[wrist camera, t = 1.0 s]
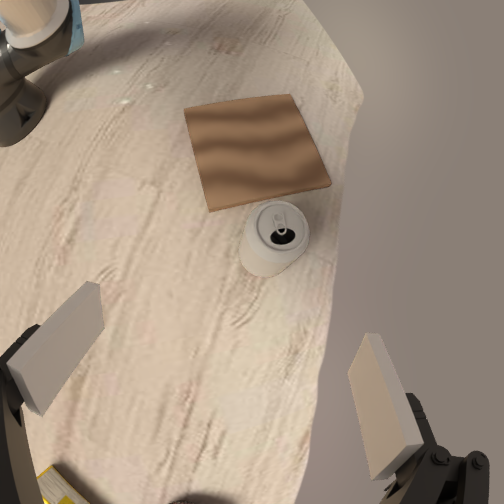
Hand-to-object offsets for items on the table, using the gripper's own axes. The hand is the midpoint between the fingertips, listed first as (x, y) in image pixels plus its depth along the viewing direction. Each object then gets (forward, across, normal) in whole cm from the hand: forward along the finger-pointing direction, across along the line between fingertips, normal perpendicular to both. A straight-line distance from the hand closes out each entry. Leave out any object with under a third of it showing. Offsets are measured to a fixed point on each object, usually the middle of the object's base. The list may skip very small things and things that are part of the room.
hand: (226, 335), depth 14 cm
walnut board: (+40, -2, +7) cm, 41 cm away
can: (+30, +2, -8) cm, 31 cm away
